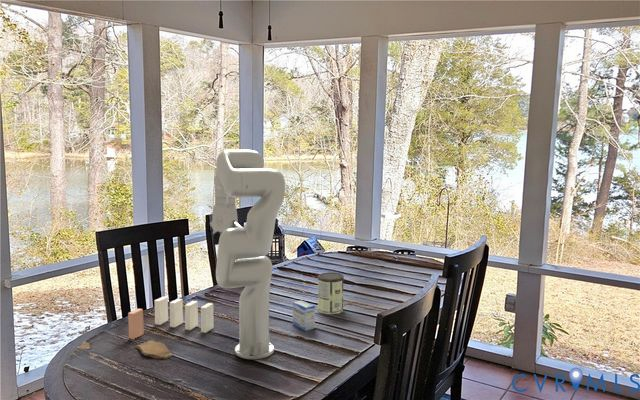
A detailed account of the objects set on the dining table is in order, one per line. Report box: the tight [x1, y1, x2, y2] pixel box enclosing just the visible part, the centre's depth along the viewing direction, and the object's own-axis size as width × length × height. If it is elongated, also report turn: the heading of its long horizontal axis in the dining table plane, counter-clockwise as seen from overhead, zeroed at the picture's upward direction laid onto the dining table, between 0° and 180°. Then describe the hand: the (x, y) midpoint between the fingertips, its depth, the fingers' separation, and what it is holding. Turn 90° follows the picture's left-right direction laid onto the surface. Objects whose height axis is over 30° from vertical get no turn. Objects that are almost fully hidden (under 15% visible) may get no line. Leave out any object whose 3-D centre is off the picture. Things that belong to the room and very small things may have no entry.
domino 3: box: [200, 302, 215, 334], centre depth 182 cm, size 2×5×9 cm, turn 160°
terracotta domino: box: [127, 308, 145, 340], centre depth 175 cm, size 2×5×9 cm, turn 160°
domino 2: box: [184, 300, 199, 331], centre depth 184 cm, size 2×5×9 cm, turn 160°
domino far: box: [154, 296, 169, 326], centre depth 188 cm, size 2×5×9 cm, turn 160°
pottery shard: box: [134, 340, 173, 360], centre depth 164 cm, size 8×3×15 cm
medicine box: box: [291, 300, 316, 332], centre depth 186 cm, size 8×4×9 cm, turn 40°
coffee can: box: [317, 272, 345, 315], centre depth 203 cm, size 10×10×14 cm
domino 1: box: [169, 298, 184, 328], centre depth 186 cm, size 2×5×9 cm, turn 160°
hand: (225, 246), depth 194 cm, fingers open, 9 cm apart
